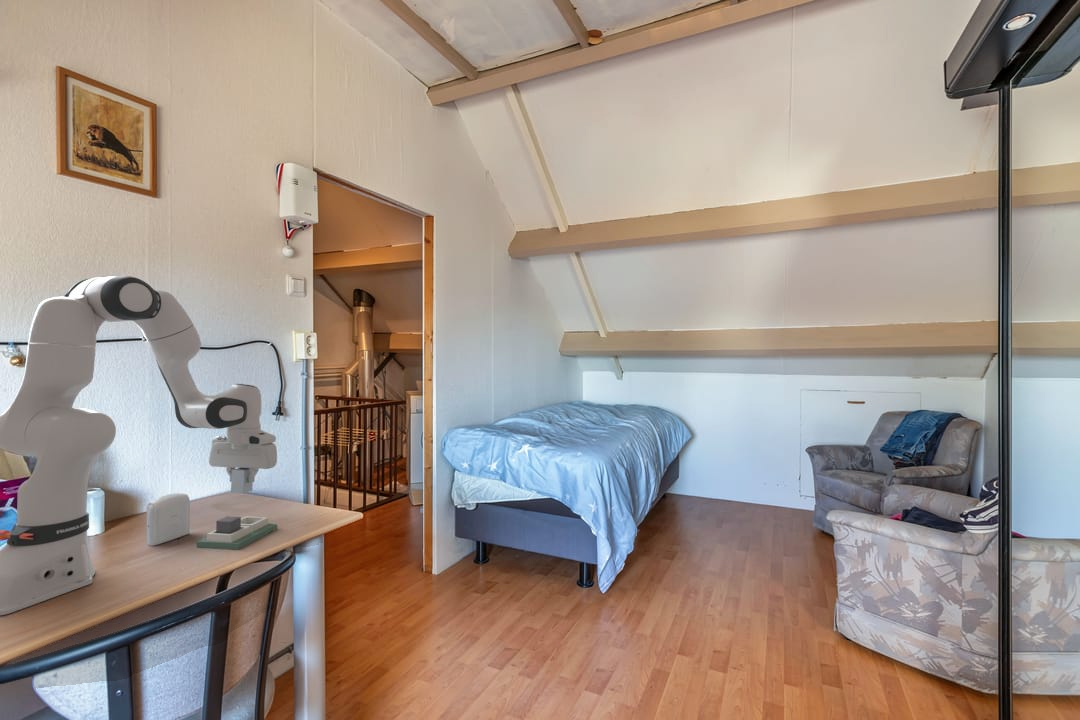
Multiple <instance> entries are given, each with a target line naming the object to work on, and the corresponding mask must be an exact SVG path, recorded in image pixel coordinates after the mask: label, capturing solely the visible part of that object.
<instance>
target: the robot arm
mask: <svg viewBox="0 0 1080 720" xmlns="http://www.w3.org/2000/svg"><path fill="white" fill-rule="evenodd" d="M34 313H35V314H34V315H33V316H34V317H33V319H32V323H31V325H30V331H29V335H28V340H27V341H28V342H27V349H26V350H27V352H26V360H25V366H24V367H25V368H24V374H23V377H22V381H21V384H20V387H19V388H18V391H17V393H16V395H15V397H14V399H13V401H12V402H11V404H10V405H9V407H8V408H7V409H6V410H5V411H4V412H3V413H1V414H0V449H1V450H4V451H6V452H9V453H12V454H15V455H19V456H28V457H30V456H32V457H36V463H35V467H34V469H33V471H32V473H31V475H30V476H29V478H28V479H26V480H25V481H24V482H22V483H21V484H20V485H19V487H18V489H17V510H16V523H15V524H14V525H13V527H12V529H11V531H10V530H6V529H5V530H3V529H0V541H6V545H4V547H2V548H1V549H0V616H4V615H5V616H6V615H8V614H12V613H14V612H18V611H20V610H23V609H25V608H28V607H31V606H33V605H37V604H39V603H42V602H44V601H47V600H50V599H53V598H55V597H58V596H61V595H63V594H66V593H69V592H72V591H75V590H77V589H79V588H83V587H86V586H88V585H91V584H93V582H94V579H93V577H94V575H95V574H96V570H95V568H94V565H93V562H92V559H91V554H90V547H89V543H88V542H89V541H88V530H89V528H90V513H89V512H88V511H87V508H88V507H87V505H88V486H89V478H90V475H91V472H92V469H93V468H94V466H95V463H96V461H97V459H98V458H99V456H100V455H101V454H103V452H105V451H106V450H108V449H109V448H110V446H111V445H112V444H113V442H114V441H115V438H116V433H117V429H116V428H117V427H116V425H115V422H114V420H113V419H112V418H111V417H110V416H108V415H107V414H105V413H103V412H99V411H96V410H92V409H89V408H83V407H82V408H80V407H73V406H74V403H75V401H76V398H77V397H78V395H79V394H80V392H81V391H82V390H83V389H85V388H86V387H87V386H90V384H91V383H92V381H93V378H94V372H95V361H96V360H95V359H96V351H97V350H96V349H97V335H98V332H99V330H100V327H101V326H102V325H103V323H105V322H108V323H119V322H126V321H131V322H132V323H134V324H135V325H136V326H137V327H138V328H139V329H140V330H141V332H142V334H143V337H144V338H145V340H146V342H147V343H148V345H149V347H150V348H151V351H152V352H153V354H154V356H155V360H156V364H157V367H158V369H159V372H160V374H161V377H162V378H163V380H164V382H165V384H166V386H167V388H168V391H169V393H170V394H171V397H172V400H173V402H174V413H175V416H176V419H177V421H178V422H179V423H180V424H181V425H182V427H183V426H184V427H185V428H189V429H209V430H210V429H214V430H220V429H221V430H223V429H226V435H225V436H222V435H218V436H215V437H214V438H213V439H212V440H211V448H210V452H209V458H208V464H209V465H210V466H211V467H215V468H218V467H219V468H226V473H227V475H228V476H229V482H230V483H231V478H232V470H233V469H237V468H250V472H251V474H250V476H249V477H246V483H255V478H256V475H257V473H258V472H259V470H260V469H261V470H270V469H273V468H274V467H276V465H277V463H278V451H277V445H276V444H275V442H276V440H277V437H276V435H274V434H272V433H269V432H267V431H264V430H262V429H261V421H260V419H261V415H262V396H261V395H262V394H261V390H260V389H259V387H257V386H255V385H252V384H244V383H234V384H232V385H231V387H228V388H227V389H226V390H223V391H222V392H220V393H217V394H215V395H210V394H209V395H208V394H204V393H203V392H201V391H200V390H199V389H198V387H197V385H196V383H195V380H194V379H193V376H192V374H191V372H190V369H189V362H190V361H191V360H192V359H193V358H194V357H196V356H197V354H198V353H199V352H200V349H201V346H202V343H201V338H200V334H199V332H198V330H197V329H196V327H195V324H194V323H193V321H192V320H191V318H190V316H189V314H188V313H187V312H186V310H185V308H183V306H182V304H181V303H180V302H179V301H178V300H177V299H176V297H175V296H174V295H173V294H171V293H170V292H167V291H164V290H155V289H154V288H153V287H152V286H151V285H150V284H148V283H147V282H146V281H144V280H142V279H140V278H138V277H134V276H130V275H117V276H111V275H104V276H103V275H101V276H97V277H94V278H87V279H82V280H80V281H79V282H77V283H76V282H75V284H74V285H72V286H71V288H69V290H68V291H67V292H66V294H65V295H64V296H54V297H51V298H47V299H44V300H42V301H41V302H40V303H39V304H38V306H37V309H36V311H35V312H34Z"/></svg>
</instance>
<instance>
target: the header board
mask: <svg viewBox="0 0 1080 720" xmlns="http://www.w3.org/2000/svg"><path fill="white" fill-rule="evenodd" d="M215 525H216V526H215V527H216V529H214V530H212V531H209V532H208V533H206V536H205V537H204V538H201V539H198V540H197V541H196V548H203V549H204V548H205V549H222V550H223V549H224V550H236V551H237V550H241V549H242V548H244V547H246V546H248V545H250V544H252V543H253V542H256V541H257V540H260V539H261V538H263V537H265V536H267V535H269V534H270V533H269V532H271V531H272V532H274V531H275V530H274V529H276V528H277V529H278V524H277V523H269V517H267V516H266V517H265V516H249V515H248V516H247V515H246V516H244V517H241V516H228V515H227V516H225V517H223V518H219V519H218V520H216V524H215ZM277 529H276V530H277ZM273 530H274V531H273ZM272 532H271V533H272ZM268 533H269V534H268ZM266 534H267V535H266Z"/></svg>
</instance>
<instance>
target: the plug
mask: <svg viewBox="0 0 1080 720" xmlns="http://www.w3.org/2000/svg"><path fill="white" fill-rule="evenodd" d="M250 474H251V472H250V468H235V469H233V470H232V478H231V482H230V494H238V495H239V494H241V495H242V494H247V493H249V492H252V491H253V486H254V485H253V483H254V482H253V483H246V477H249V476H250Z"/></svg>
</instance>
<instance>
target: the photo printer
mask: <svg viewBox="0 0 1080 720" xmlns="http://www.w3.org/2000/svg"><path fill="white" fill-rule="evenodd" d="M190 501H191V500H190V497H189V495H188V494H187V493H183V492H182V493H181V492H180V493H178V492H177V493H169V494H165V495H162V496H159V497H158V498H155V499H154V500H152V501H150V502H149V503H148V504H147V506H146V544H147V546H149V547H150V546H151V547H153V546H158V545H162V544H163V543H166V542H169V541H172V540H176V539H178V538H181V537H184V536H186V535H189V533H190V523H191V522H190V513H191V511H190V510H191V509H190V508H191V507H190V503H191V502H190Z"/></svg>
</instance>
